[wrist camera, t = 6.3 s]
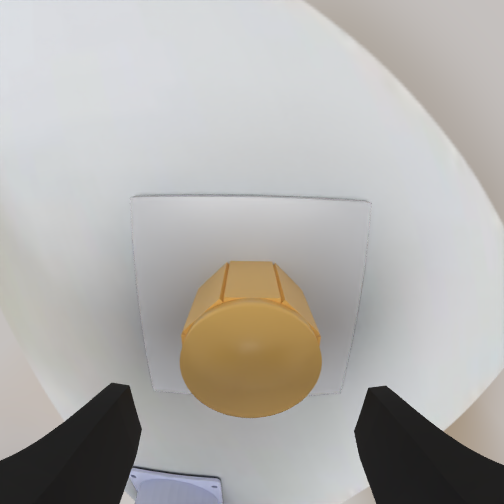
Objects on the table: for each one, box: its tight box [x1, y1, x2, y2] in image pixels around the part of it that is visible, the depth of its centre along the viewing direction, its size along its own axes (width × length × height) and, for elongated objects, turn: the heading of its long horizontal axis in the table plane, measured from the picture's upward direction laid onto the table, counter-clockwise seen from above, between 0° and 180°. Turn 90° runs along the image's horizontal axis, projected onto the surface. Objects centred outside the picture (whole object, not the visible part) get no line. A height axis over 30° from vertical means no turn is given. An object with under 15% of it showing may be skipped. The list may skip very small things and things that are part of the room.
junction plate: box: [130, 195, 372, 396], centre depth 14 cm, size 11×11×4 cm
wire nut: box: [180, 261, 322, 418], centre depth 13 cm, size 5×5×5 cm
